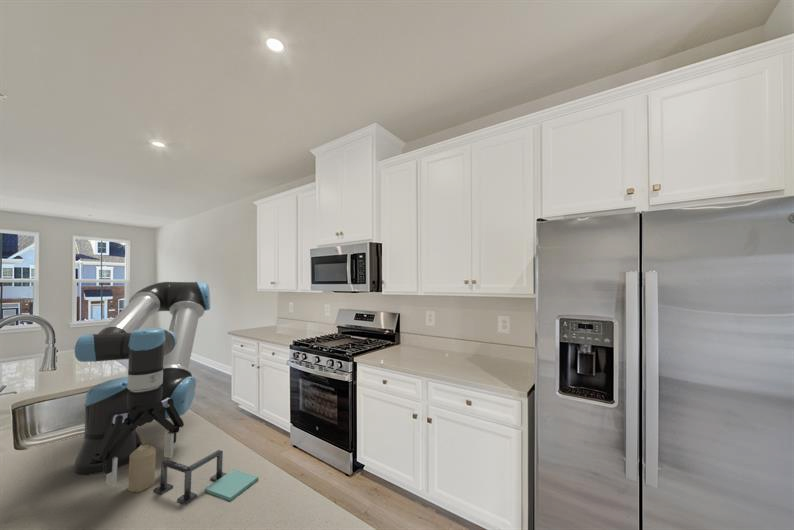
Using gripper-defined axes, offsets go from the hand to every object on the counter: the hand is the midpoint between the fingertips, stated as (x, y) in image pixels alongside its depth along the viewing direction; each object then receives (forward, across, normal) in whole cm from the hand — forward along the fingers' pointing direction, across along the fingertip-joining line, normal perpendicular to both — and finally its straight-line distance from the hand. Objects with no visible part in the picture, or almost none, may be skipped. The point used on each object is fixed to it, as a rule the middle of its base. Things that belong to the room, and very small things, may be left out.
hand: (141, 469), depth 85 cm
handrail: (+4, +6, -11) cm, 13 cm away
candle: (+4, 0, 0) cm, 5 cm away
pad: (+4, +9, -22) cm, 24 cm away
